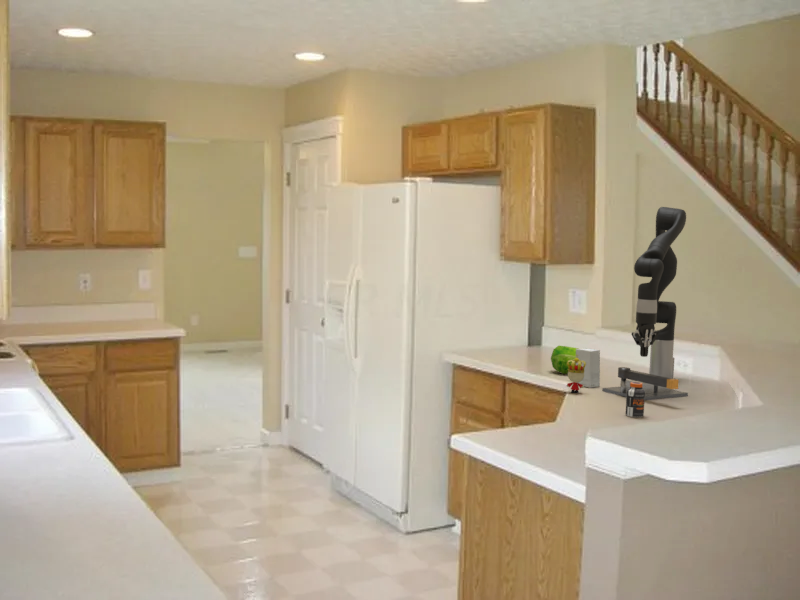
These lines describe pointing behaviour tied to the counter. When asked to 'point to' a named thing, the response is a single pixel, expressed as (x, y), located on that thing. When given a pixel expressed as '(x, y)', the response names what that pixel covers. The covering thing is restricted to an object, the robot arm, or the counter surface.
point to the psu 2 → (660, 389)
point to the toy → (575, 374)
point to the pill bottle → (635, 400)
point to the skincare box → (590, 366)
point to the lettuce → (562, 358)
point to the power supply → (646, 387)
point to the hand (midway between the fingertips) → (643, 356)
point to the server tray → (648, 396)
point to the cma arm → (647, 378)
